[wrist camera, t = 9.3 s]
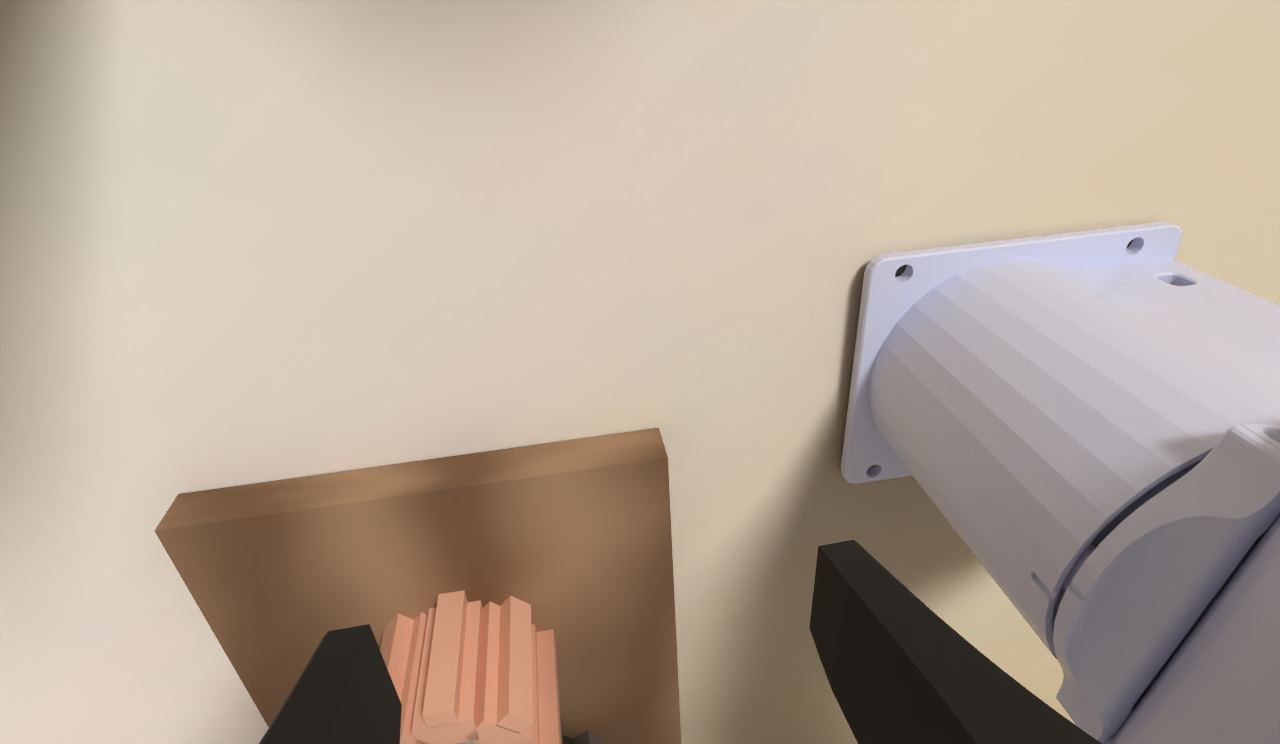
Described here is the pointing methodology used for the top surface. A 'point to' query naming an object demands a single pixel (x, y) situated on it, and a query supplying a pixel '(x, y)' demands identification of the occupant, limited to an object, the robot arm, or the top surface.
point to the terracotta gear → (474, 674)
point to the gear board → (454, 567)
